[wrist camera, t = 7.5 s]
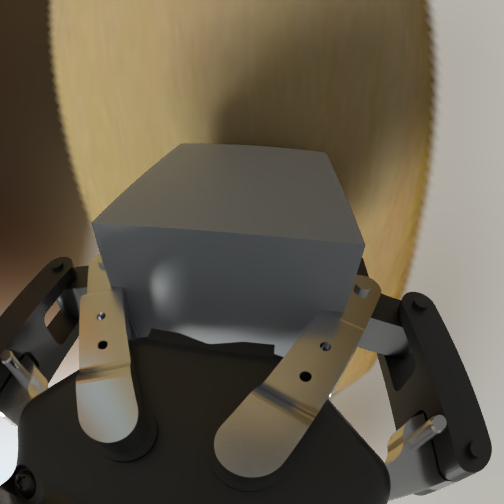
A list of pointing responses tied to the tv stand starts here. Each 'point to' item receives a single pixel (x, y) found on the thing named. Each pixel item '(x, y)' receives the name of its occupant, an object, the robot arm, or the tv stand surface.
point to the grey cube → (232, 243)
